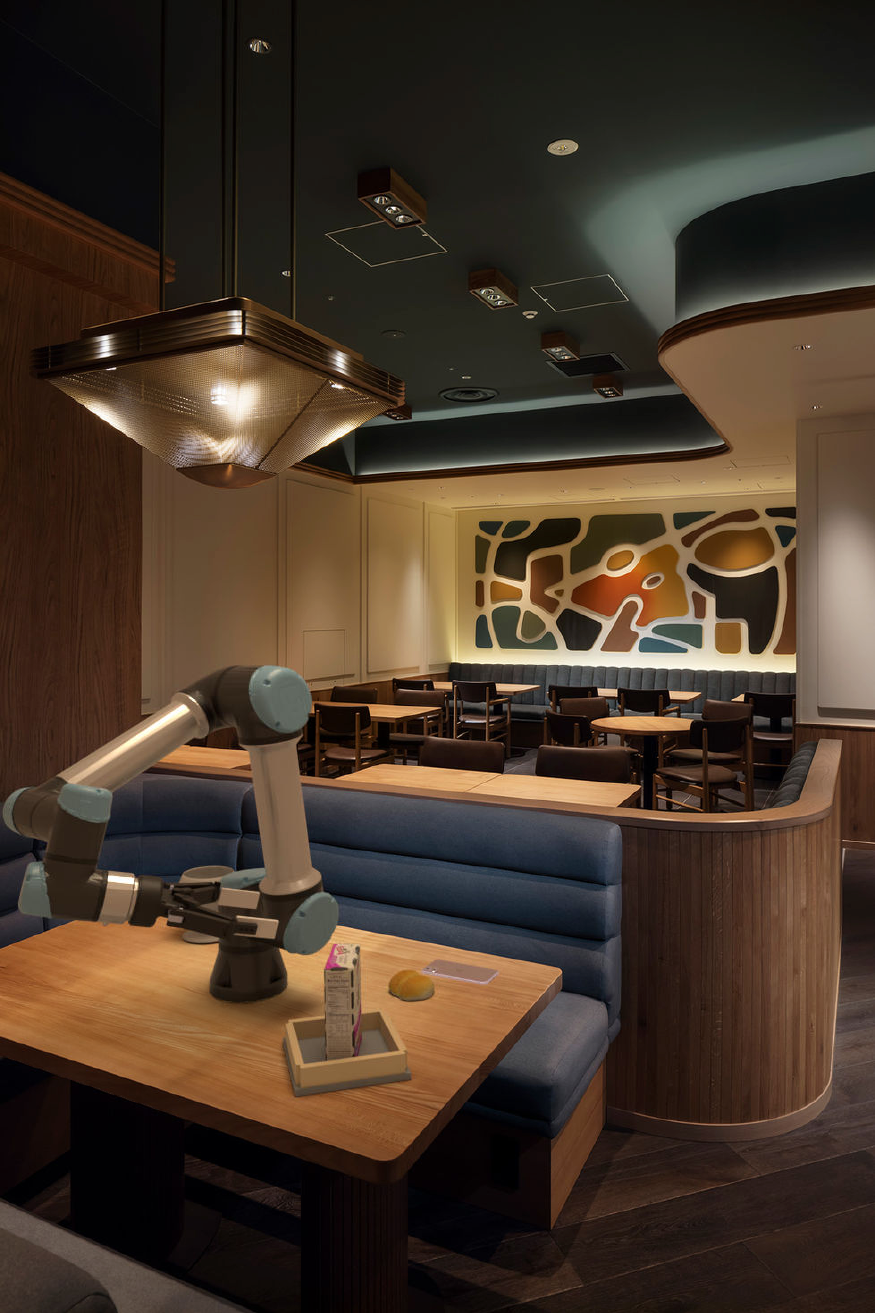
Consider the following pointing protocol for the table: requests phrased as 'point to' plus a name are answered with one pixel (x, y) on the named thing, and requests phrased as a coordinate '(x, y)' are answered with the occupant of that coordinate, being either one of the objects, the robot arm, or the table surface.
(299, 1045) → the shallow square tray
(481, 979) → the mobile phone
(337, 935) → the table surface
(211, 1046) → the table surface
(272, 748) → the robot arm
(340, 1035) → the candy bar box
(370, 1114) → the table surface
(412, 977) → the bread roll
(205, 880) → the chalice
